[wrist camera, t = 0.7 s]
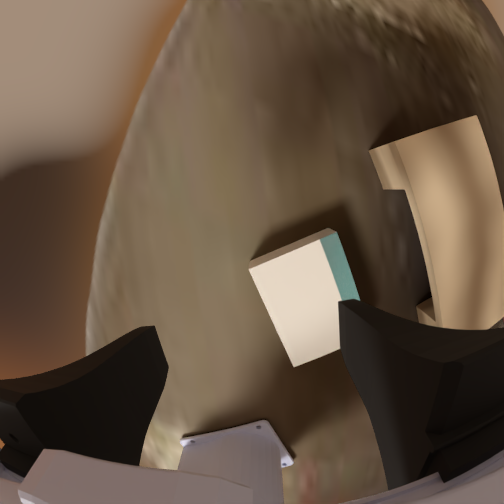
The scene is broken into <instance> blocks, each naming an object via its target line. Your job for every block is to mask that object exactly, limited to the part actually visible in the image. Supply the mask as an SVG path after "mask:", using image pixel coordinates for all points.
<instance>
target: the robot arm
mask: <svg viewBox="0 0 504 504" xmlns="http://www.w3.org/2000/svg"><path fill="white" fill-rule="evenodd" d="M338 312H339V336H340V349H341V352H342V355H343V359H344V362H345V365H346V367H347V369H348V371H349V374H350V376H351V378H352V380H353V382H354V384H355V386H356V388H357V390H358V392H359V394H360V396H361V398H362V400H363V402H364V404H365V406H366V409H367V411H368V414H369V416H370V420H371V423H372V426H373V429H374V432H375V436H376V439H377V443H378V446H379V450H380V454H381V458H382V462H383V466H384V470H385V475H386V480H387V485H388V490H389V491H386V492H383V493H379V494H376V495H372V496H369V497H365V498H361V499H358V500H353V501H349V502H345V503H340V504H504V328H496V329H486V330H463V329H450V328H442V327H435V326H430V325H426V324H421V323H417V322H413V321H410V320H407V319H404V318H401V317H398V316H395V315H392V314H390V313H387V312H385V311H383V310H380V309H378V308H376V307H373V306H371V305H369V304H366V303H364V302H362V301H359V300H356V299H348V300H343V301H338ZM168 368H169V366H168V363H167V361H166V358H165V355H164V352H163V349H162V346H161V344H160V341H159V338H158V335H157V331H156V328H155V326H144V327H139V328H137V329H135V330H133V331H131V332H129V333H127V334H125V335H123V336H122V337H120V338H118V339H117V340H115V341H113V342H111V343H110V344H108V345H106V346H105V347H103V348H101V349H99V350H97V351H95V352H94V353H92V354H90V355H88V356H86V357H84V358H82V359H80V360H78V361H75V362H73V363H71V364H68V365H66V366H63V367H60V368H57V369H54V370H51V371H48V372H45V373H42V374H37V375H33V376H28V377H22V378H16V379H5V380H0V439H1V440H2V441H3V443H4V444H5V445H4V447H3V448H2V449H1V448H0V504H284V497H283V482H282V467H286V466H290V465H292V464H293V463H294V460H293V459H292V457H291V456H290V454H289V453H288V451H287V450H286V448H285V446H284V445H283V443H282V442H281V440H280V439H279V437H278V436H277V434H276V433H275V431H274V429H273V428H272V426H271V425H270V423H269V422H268V421H267V420H261V421H257V422H253V423H250V424H246V425H242V426H238V427H234V428H230V429H225V430H221V431H216V432H212V433H207V434H202V435H196V436H191V437H185V438H181V439H180V443H181V445H182V446H183V447H184V448H183V451H182V455H181V459H180V462H179V466H178V470H167V469H157V468H148V467H141V466H139V463H140V458H141V452H142V448H143V444H144V440H145V436H146V433H147V430H148V427H149V424H150V422H151V419H152V417H153V414H154V412H155V409H156V407H157V404H158V402H159V399H160V397H161V394H162V392H163V389H164V386H165V382H166V378H167V373H168ZM193 440H194V441H193Z"/></svg>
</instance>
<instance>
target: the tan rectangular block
mask: <svg viewBox="0 0 504 504" xmlns="http://www.w3.org/2000/svg"><path fill="white" fill-rule="evenodd" d="M369 153H370V156H371V158H372V161H373V163H374V166H375V168H376V171H377V173H378V176H379V179H380V181H381V184H382V187H383V189H405V192H406V195H407V198H408V201H409V204H410V207H411V211H412V214H413V217H414V221H415V224H416V228H417V231H418V235H419V239H420V243H421V247H422V251H423V255H424V259H425V264H426V268H427V273H428V278H429V283H430V288H431V293H432V297H431V298H429V299H427V300H426V301H424V302H422V303H420V304H418V305H417V306H416V309H417V314H418V320H419V323H421V324H426V325H430V326H435V327H442V328H450V329H463V330H486V329H489V328H490V327H492V326H493V325H494V324H495V323H497V322H498V321H499V320H501V319H502V318H503V317H504V210H503V204H502V199H501V195H500V190H499V186H498V181H497V177H496V173H495V170H494V166H493V162H492V159H491V155H490V152H489V149H488V146H487V143H486V140H485V137H484V134H483V131H482V128H481V125H480V123H479V120H478V117H477V115H475V116H472V117H468V118H465V119H461V120H458V121H455V122H451V123H448V124H445V125H442V126H438V127H435V128H432V129H429V130H426V131H423V132H420V133H417V134H414V135H411V136H408V137H405V138H402V139H400V140H397V141H394V142H391V143H388V144H385V145H383V146H380V147H377V148H374V149H371V150H369Z"/></svg>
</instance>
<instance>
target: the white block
mask: <svg viewBox="0 0 504 504" xmlns="http://www.w3.org/2000/svg"><path fill="white" fill-rule="evenodd" d="M249 271H250V273H251V275H252V278H253V280H254V282H255V284H256V286H257V289H258V291H259V293H260V295H261V297H262V300H263V302H264V304H265V306H266V308H267V310H268V313H269V315H270V317H271V319H272V321H273V323H274V326H275V328H276V330H277V332H278V334H279V336H280V339H281V341H282V343H283V345H284V347H285V349H286V352H287V354H288V356H289V358H290V360H291V362H292V364H293V367H296V366H299V365H301V364H304V363H306V362H309V361H311V360H314V359H316V358H319V357H321V356H324V355H326V354H329V353H331V352H333V351H336V350H338V349H340V336H339V312H338V301H343V300H348V299H356V300H359V301H360V298H359V295H358V292H357V289H356V286H355V283H354V280H353V277H352V274H351V271H350V268H349V265H348V262H347V259H346V256H345V253H344V250H343V248H342V245H341V242H340V239H339V237H338V234H337V232H336V231H334V230H332V229H330V228H326V229H324V230H322V231H319V232H317V233H314V234H312V235H310V236H307V237H305V238H303V239H300V240H298V241H296V242H293V243H291V244H289V245H286V246H284V247H282V248H279V249H277V250H274V251H272V252H270V253H267V254H265V255H263V256H260V257H258V258H256V259H253V260H251V261H250V263H249Z"/></svg>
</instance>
